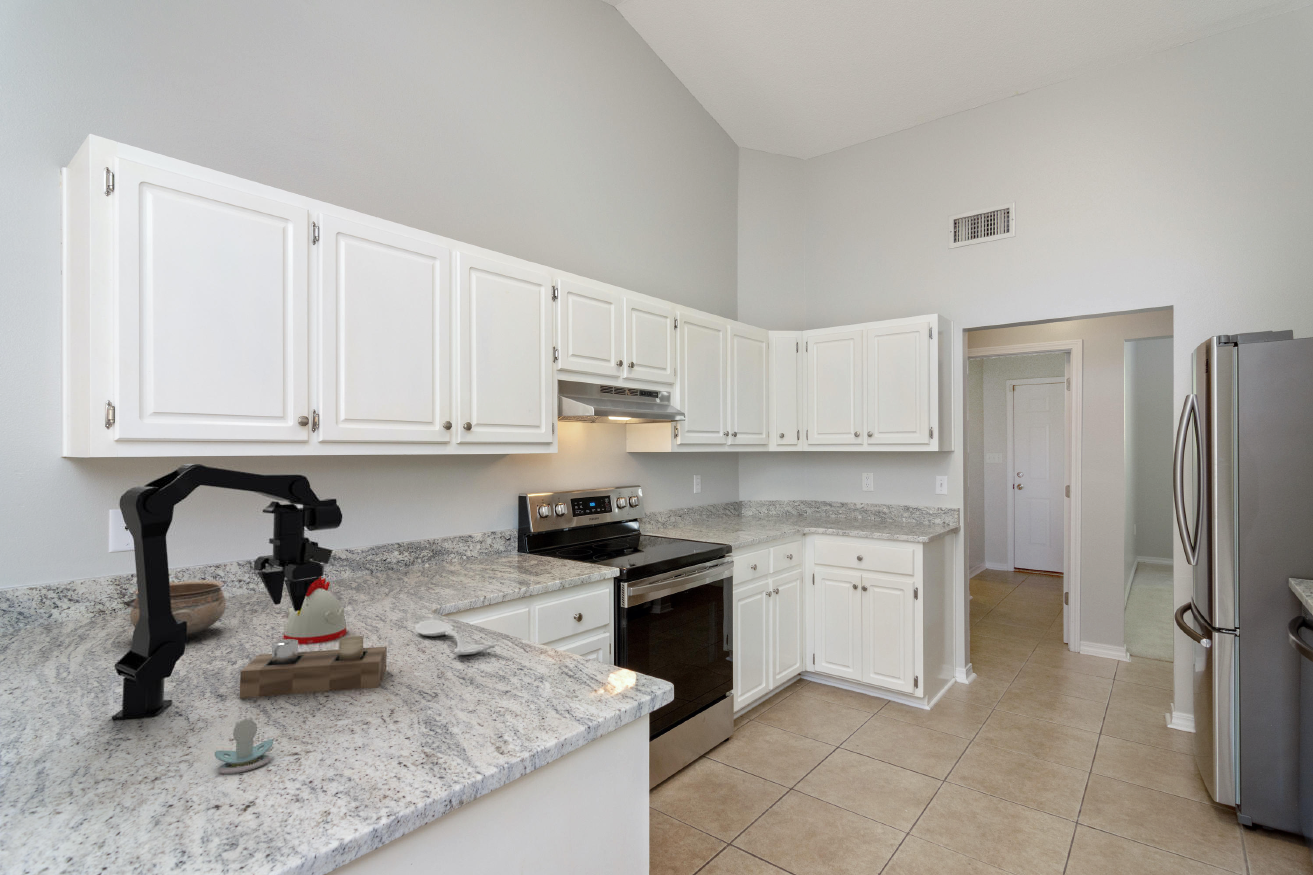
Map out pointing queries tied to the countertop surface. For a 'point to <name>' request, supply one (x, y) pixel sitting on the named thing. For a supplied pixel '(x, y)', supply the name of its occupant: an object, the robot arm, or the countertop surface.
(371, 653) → the walnut block
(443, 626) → the spoon
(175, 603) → the cooking pot
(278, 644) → the steel peg
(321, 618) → the kitchen timer
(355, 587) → the countertop surface
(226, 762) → the pacifier
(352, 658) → the birch peg
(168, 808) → the countertop surface
